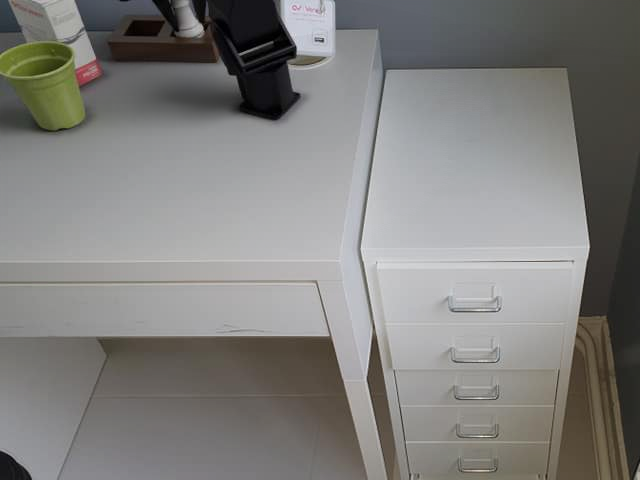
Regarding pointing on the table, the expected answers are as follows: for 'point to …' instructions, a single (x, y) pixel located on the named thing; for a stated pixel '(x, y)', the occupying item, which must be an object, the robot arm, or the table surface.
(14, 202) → the table surface
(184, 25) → the rook chess piece
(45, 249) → the table surface
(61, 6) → the ink box
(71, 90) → the plant pot
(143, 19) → the wooden compartment tray
